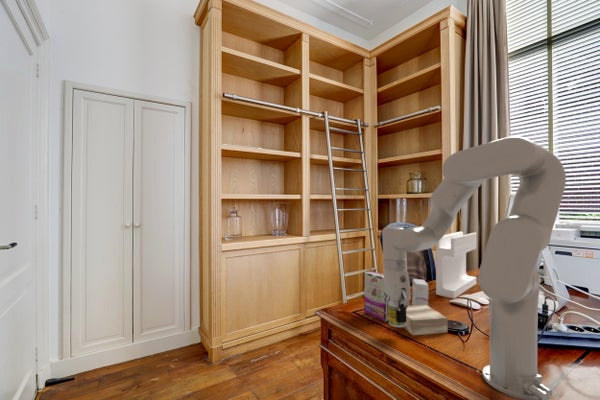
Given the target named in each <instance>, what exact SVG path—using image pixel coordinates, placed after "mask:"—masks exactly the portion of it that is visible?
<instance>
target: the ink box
mask: <svg viewBox="0 0 600 400" xmlns="http://www.w3.org/2000/svg"><path fill="white" fill-rule="evenodd" d="M429 287H430V286H429V284H428V283H427V281H425V280H424V279H420V278H419V279H417V278H412V292H411V293H412V296H411V298H412V299H411V301H412V302H411V305H427V306H429Z"/></svg>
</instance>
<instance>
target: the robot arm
mask: <svg viewBox="0 0 600 400" xmlns="http://www.w3.org/2000/svg"><path fill="white" fill-rule="evenodd" d="M441 172H442V176H443V177H444V178H443V180H442V181H441V182H440V183H439V185H438V186H437V187H436V188H435V190H434V191H433V192H432V193H431V195H430V201H431V205H432V207H431V208H432V209H431V212H430V213H429V215H428V216H427V218H426V219H425V221H424V222H423V223H422V224H421V225H420V226H413V227H408V228H407V227H406V228H404V227H402V226H387V227H384V228H383V229H382V258H383V259H382V260H383V261H382V263H383V266H382V267H383V274H384V292H385V294H386V298H387V303H388V302H389V301H390V297H391V298H392V299H394V300H395V301H396V305H397V310H396V322H397V323H404V322H406V310H407V307H408V306H409V305H410V304H411V303H410V301H411V300H412V299H411V298H412V296H411V284H410V276H409V272H408V264H407V263H408V259H407V258H408V255H407V254H408V253H407V252H409V253H417V252H422V251H425V250H429V249H432V248H434V247H436V244H437V243H438V242H439V241H440V239H441V238H442V237H443V236H444V235H447V234H446V233H448V231H449V230H450V228H451V227H452V225H453V223H454V221H455V219H457V218H456V217H457V214H458V213H459V211H460V210H461V209H462V208H463V206H464V205H465V204H466V203H467V202H468V200H469V199H470V198H471V197H472V195H474V194H475V192H476V191H477V190H478V189H479V187H481V185H482V183H483V182H485V180H489V179H492V178H494V179H495V178H498V177H503V176H508V175H509V176H510V175H511V176H516V177H518V178H519V184H518V185H519V186H518V188H517V190H516V192H515V195H514V199H513V202H512V206H511V208H510V210H509V211H510V212H509V214H508V216H506V217H504V218H502V219H500V220H499V221H498V222H497V223H495V225H494V226H493V227H492V230H491V231H490V234H489V237H488V239H487V242H486V247H485V250H484V253H483V256H482V260H481V264H480V265H479V266H480V267H479V270H478V275H477V279H478V285H479V287H480V290H481V291H482V292H483V294H484V295H485V296H487V298H489V299H490V302H489V364H488V365H486V366H484V367H483V368H482V377H483V379H484V380H485V382H486V383H488V385H490V387H492V388H493V389H495V390H497V391H499V392H501V393H503V394H505V395H507V396H510V397H513V398H517V399H520V400H550V396H552V395H553V390H551V389H550V388H549V387H547V386H545V385H544V384H543V379H542V378H543V376H542V375H540V374H539V373H538V324H539V323H538V321H539V318H538V313H539V312H538V311H539V310H538V309H539V295H540V287H541V279H540V275H539V272H538V269H537V268H536V265H537V263H538V260H539V257H540V254H541V252H542V251H544V250H545V249H546V248H547V247H548V245H549V244H550V241H551V238H552V237H551V236H552V232H553V229H554V226H555V223H556V219H557V216H558V213H559V209H560V205H561V202H562V200H563V199H562V198H563V196H564V191H565V188H566V182H567V177H566V175H567V174H566V170H565V167H564V166H563V164H562V162H561V160H560V159H559V158H558V157H557V156H556V155H555V154H554V153H552V152H551V151H550V150H548V149H546V148H544V147H543V146H542V145H540V144H538V143H536V142H534V141H532V140H531V139H528V138H526V137H522V136H506V137H504V138H500V139H496V140H492V141H489V142H486V143H482V144H479V145H475V146H472V147H468V148H465V149H462V150H459V151H456V152H454V153H452V154H450V155H449V156H448V157H447V158H446V159H445V161H444V162H443V164H442V168H441ZM399 298H402V300H399ZM399 302H402V303H403V304H401V305H400V304H399ZM387 314H388V304H387Z"/></svg>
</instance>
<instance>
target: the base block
mask: <svg viewBox="0 0 600 400" xmlns="http://www.w3.org/2000/svg"><path fill="white" fill-rule="evenodd" d="M448 322H449V320H448V317H446V315H444V314H442V313H440V312H439V311H437V310H435V309H433V308H432V307H431V306H429V305H428V306H427V305H412V304H411V305H410V304H409V305H408V307H407V310H406V322H405V326H403V327H402V328H403V329H404V330H406V331H407V332H408V333H410V334H411V335H412V336H420V335H421V336H423V335H433V334H446V333H448V331H449V330H448V327H449V326H448V324H449V323H448Z"/></svg>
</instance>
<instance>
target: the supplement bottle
mask: <svg viewBox="0 0 600 400" xmlns="http://www.w3.org/2000/svg"><path fill="white" fill-rule="evenodd" d="M399 300H402V298H399ZM399 304H400V305H401V304H403V303H402V302H399ZM396 310H397V305H396V301H395V300H394V299H392V298H391V297H390V301H389V302H388V321H387V322H388V324H389V325H390V326H391V327H394V328H404V327H403V326H405V322H404V323H397V322H396Z"/></svg>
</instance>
